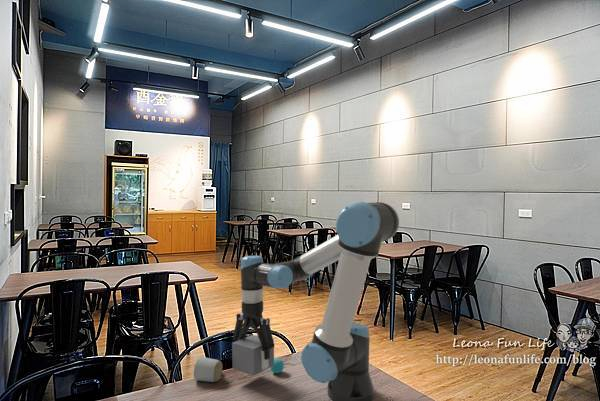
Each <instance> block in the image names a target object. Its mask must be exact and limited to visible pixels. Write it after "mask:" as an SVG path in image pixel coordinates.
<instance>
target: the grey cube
mask: <svg viewBox="0 0 600 401" xmlns="http://www.w3.org/2000/svg"><path fill="white" fill-rule="evenodd" d="M274 341H275V340H274V339H273V342H274ZM274 343H275V342H274ZM261 350H263V347H262V345H261V342H260V340H259V337H258V335H255V334H250V335H249V336H245V338H243V339H241V340H238V341H236V340H235V341H233V342H231V355H232V356H231V361H232V364H231V365H232V366H231V367H232V369H234V370H236V371H239V372H242V373H243V374H247V375H251V376H257V375H258V374H260V373H262V372H264V371H266V370H268V369H270V367H272V366H274V359H275V347H274V348H272V349H270V358H269V359H268V362H269V367H268V368H266V369H264V370H262V362H261Z"/></svg>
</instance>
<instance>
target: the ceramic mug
mask: <svg viewBox="0 0 600 401" xmlns="http://www.w3.org/2000/svg"><path fill="white" fill-rule="evenodd" d="M222 373H223V362H222V361H221V360H218V359H216V358H215V359H214V358H210V357H206V356H205V357H204V356H199V357H198V358H197V359H196V362H195V364H194V367H193V378H194V380H195V381H201V382H210V383H217V382H218V381H219V380H220V379H221V377H222Z"/></svg>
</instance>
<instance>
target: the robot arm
mask: <svg viewBox="0 0 600 401" xmlns="http://www.w3.org/2000/svg"><path fill="white" fill-rule="evenodd" d="M399 226H400V218H399V215H398V213H397V211H396V210H395V208H393V207H392V206H391V205H389V204H388V203H385V202H381V201H379V202H364V201H362V202H361V201H359V202H356V203H352V204H349V205H347V206H346V207H344V208H343V209H342V210H341V211H340V213H339V214H338V215H337V218H336V222H335V232H336V233H337V234H335V236H333V237H331V238H329V239H327V240H325V241H324V242H322V243H320V244H319V245H317V246H315V247H314V248H311V249H310V250H309V251H307V252H305V253H303V254H301V255H299V257H296V258H294V259H292V260H288V261H283V262H277V263H265V262H264V261H263V260H264V259H263V257H262V256H260V255H246V256H244V257H243V256H242V258H241V261H240V279H241V282H240V284H241V286H240V287H241V288H240V290H241V293H240V294H241V296H240V297H241V301H242V302H241V312H240V313H237V314H236V315H235V316H236V318H235V319H236V321H235V327H234V332H233V335H232V336H233V337H232V340H234V341H235V342H236V341H238V340H241V339H243V338H246V337H247V334H248V332H249V330H250V329H251V330H252V329H253V331H254V332H255V333H256V336H258V337H259V340H260V342H261V345H262V347H263V350H261V362H262V370H264V369H266V368H268V367H269V362H268V359H269V358H270V349H272V348H274V349H275V342H273V340H274V338H273V335H272V334H273V333H272V330H271V324H270V323H271V320H270V318H269V317H268V318H267V317H266V318H265V317H264V316H263V312H264V301H263V300H264V287H268V288H274V289H283V290H285V289H287V288H288V287H289V286H290V285H291V284H292V283H295V282H298V281H299V282H300V281H304V280H307V279H309V278H311V277H312V276H313V274H315V273H316V272H319V271H320V270H322V269H324V268H327V267H329V266H330V265H332V264H333V263H336V262H337V263H338V264H337V265H336V266H337V267H336V269H335V270H336V271H335V274H334V278H333V281H332V286H331V287H330V288H331V289H330V293H329V296H328V298H327V304H326V305H325V306H326V307H325V309H324V310H325V311H324V313H323V319H322V322H321V324H319V325H317V326H316V327H315V329H314V332H313V336H312V339H311V342H309V343H307V344H306V345H305V346H304V347H303V349H302V350H301V358H300V359H301V364H302V366H303V368H304V370H305V372H306V374H307V375H308V376H309V377H310V378H311V379H312V380H313V381H315V382H317V383H320V384H321V383H322V384H326V383H327V387H326V388H327V390H326V392H327V396H328V397H329V399H330V400H332V401H373V400H374V399H375V398H374V397H375V388H374V384H373V380H372V378H371V375H370V369H369V368H370V366H369V365H370V330H369V327H368V326H366V325H365V324H363V323H359V322H355V321H354V320H355V316H356V312H357V309H358V306H359V302H360V299H361V295H362V292H363V288H364V285H365V280H366V278H367V274H368V271H369V267H370V263H371V261H372V259H375V258H377V257H378V255H379V252H380V249H381V245H382V242H387V241H388V240H390V239H392V238H393V237H394V236H395V235H396V234H397V232H398V229H399ZM268 369H269V368H268ZM266 370H267V369H266ZM264 371H265V370H264Z"/></svg>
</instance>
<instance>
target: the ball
mask: <svg viewBox="0 0 600 401" xmlns="http://www.w3.org/2000/svg"><path fill="white" fill-rule="evenodd" d="M284 367H285V364H284V362H283V360H282V359H281V358H274V366H272V367H270V368H269V369H270V370H271V372H272V373H274V374H280V373H281V372H283V370H284Z"/></svg>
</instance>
